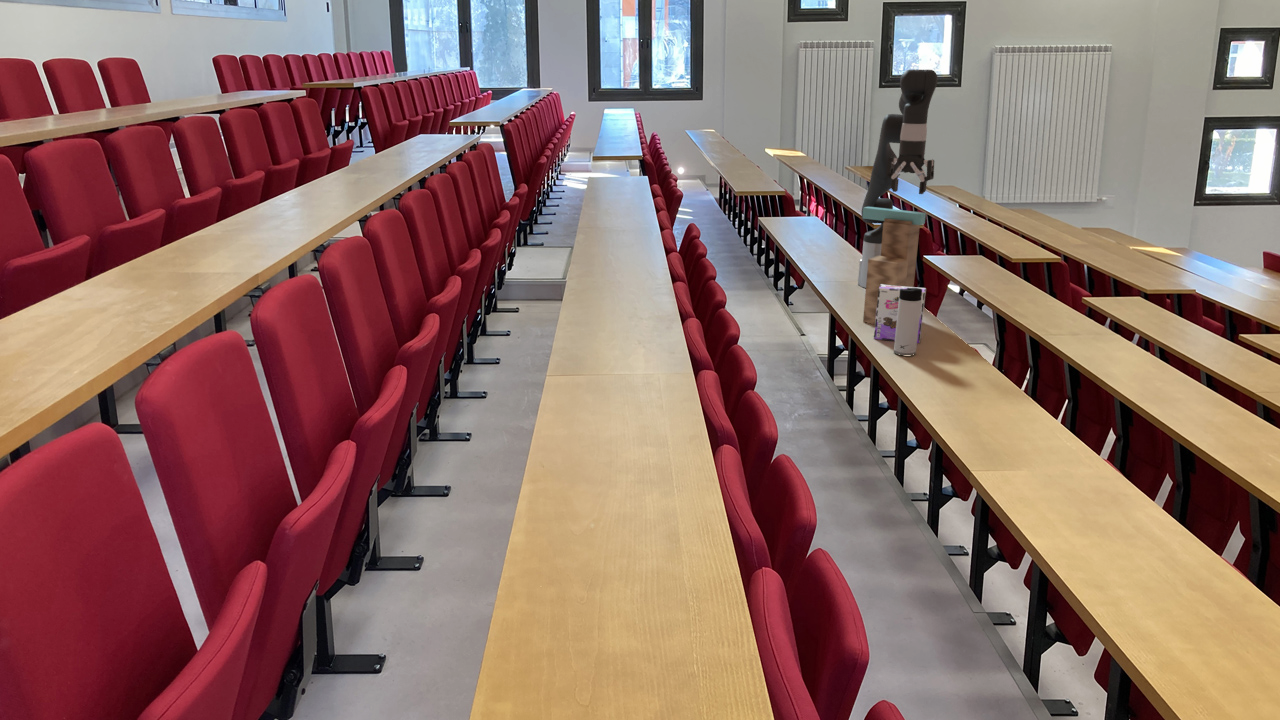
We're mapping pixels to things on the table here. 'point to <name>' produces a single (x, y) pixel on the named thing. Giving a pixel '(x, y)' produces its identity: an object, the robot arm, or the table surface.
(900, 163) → the robot arm
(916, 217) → the light blue rectangular bar
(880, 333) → the candy box
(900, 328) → the travel mug
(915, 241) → the tall stand
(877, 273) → the wooden block
